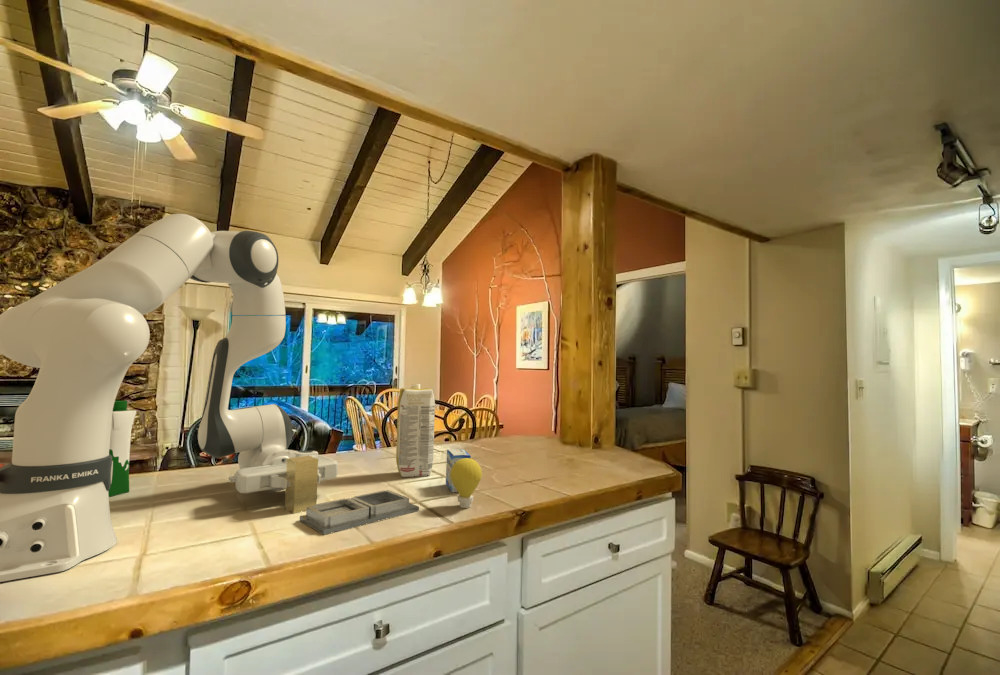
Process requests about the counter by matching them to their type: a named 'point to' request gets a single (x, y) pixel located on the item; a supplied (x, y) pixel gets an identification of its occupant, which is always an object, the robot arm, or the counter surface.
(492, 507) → the counter surface
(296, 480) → the wooden block
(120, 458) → the milk carton
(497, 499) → the counter surface
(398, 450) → the juice carton
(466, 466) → the light bulb
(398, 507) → the grey double tray
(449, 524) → the counter surface
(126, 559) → the counter surface
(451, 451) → the medicine box
